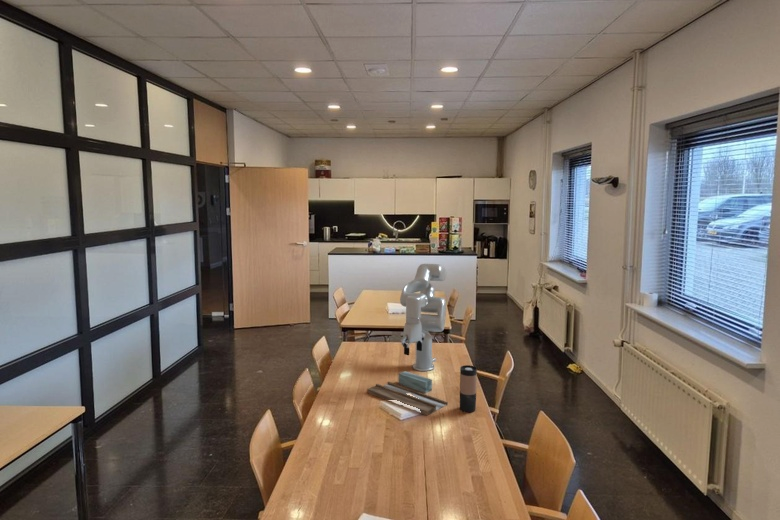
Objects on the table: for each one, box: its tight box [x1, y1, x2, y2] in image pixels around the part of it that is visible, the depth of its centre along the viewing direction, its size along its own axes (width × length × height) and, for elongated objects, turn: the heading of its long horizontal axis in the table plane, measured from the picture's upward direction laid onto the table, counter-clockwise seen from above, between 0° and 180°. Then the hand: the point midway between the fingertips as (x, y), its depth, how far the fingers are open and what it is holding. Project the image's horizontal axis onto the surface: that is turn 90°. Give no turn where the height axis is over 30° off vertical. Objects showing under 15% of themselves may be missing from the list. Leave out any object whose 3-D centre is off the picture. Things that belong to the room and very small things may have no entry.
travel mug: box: [459, 364, 478, 414], centre depth 221 cm, size 8×8×20 cm
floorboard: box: [366, 381, 448, 416], centre depth 234 cm, size 16×38×3 cm, turn 47°
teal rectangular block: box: [398, 370, 433, 394], centre depth 248 cm, size 5×18×6 cm, turn 48°
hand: (413, 352), depth 246 cm, fingers open, 9 cm apart
